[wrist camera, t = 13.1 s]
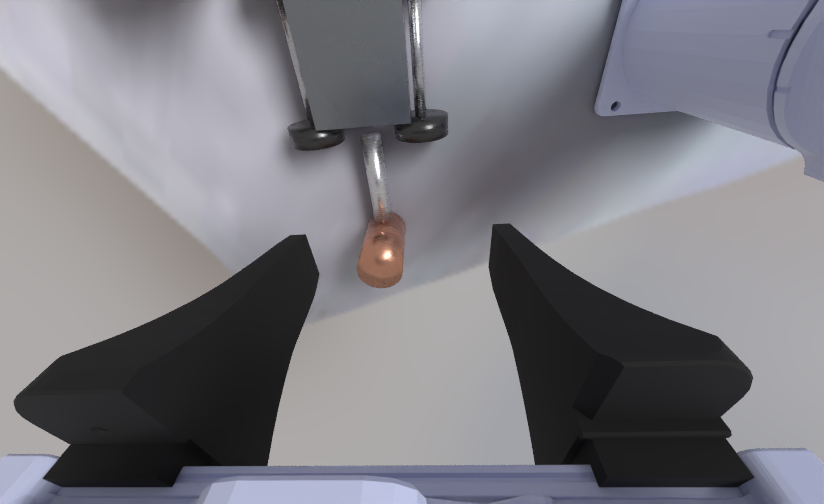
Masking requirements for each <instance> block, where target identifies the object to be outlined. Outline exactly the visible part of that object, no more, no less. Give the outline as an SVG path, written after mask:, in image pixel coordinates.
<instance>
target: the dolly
mask: <svg viewBox="0 0 824 504" xmlns="http://www.w3.org/2000/svg"><path fill="white" fill-rule="evenodd" d="M276 2H277V6H278V9H279V13H280V17H281V21H282V24H283V28H284V32H285V36H286V39H287V43H288V47H289V51H290V54H291V58H292V62H293V66H294V69H295V73H296V77H297V81H298V84H299V88H300V92H301V96H302V99H303V103H304V107H305V110H306V114H307V118H308V120H303V121H299V122H296V123H294V124H291V125H290V126H288V128H287V129H288V132H289V135H290V139H291V142H292V145H293V148H294V149H297V150H303V151H310V150H320V149H325V148H329V147H333V146H336V145H338V144H340V143H342V142H343V141H344V140H345V136H344V131H343V129H345V128H358V127H371V126H385V125H394V127H395V136H396V139H397V140H399V141H403V142H409V143H422V142H430V141H435V140H439V139H442V138H444V137H445V136H447V135H448V113H447V112H445V111H442V110H433V109H426V104H425V82H424V60H423V39H422V17H421V0H408V15H409V30H410V45H411V60H412V76H413V91H414V106H415V110H414V111H411V109H410V95H409V82H408V68H407V54H406V41H405V27H404V14H403V0H276Z"/></svg>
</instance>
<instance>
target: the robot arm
mask: <svg viewBox="0 0 824 504" xmlns="http://www.w3.org/2000/svg"><path fill="white" fill-rule="evenodd" d="M616 101H617V105H616V107H615V108H614V109H612V110H611V105H612V104H613V103H614V102H616ZM594 111H595V113H596V114H597V115H599V116H615V115H628V114H642V113H655V112H669V111H680V112H683V113H686V114H689V115H692V116H695V117H698V118H701V119H704V120H707V121H710V122H713V123H716V124H719V125H722V126H725V127H729V128H732V129H735V130H738V131H741V132H744V133H747V134H750V135H753V136H756V137H759V138H762V139H765V140H768V141H771V142H774V143H777V144H780V145H783V146H786V147H789V148H792V149H796V150H797V151H799V152H800V153H801V154H802V156H803V158H804V161H805V168H804V174H805V175H808V176H810V177H813V178H815V179H818V180H821V181H823V182H824V0H622V4H621V8H620V11H619V15H618V19H617V23H616V27H615V30H614V34H613V38H612V42H611V46H610V49H609V53H608V57H607V61H606V65H605V68H604V72H603V76H602V80H601V84H600V87H599V91H598V95H597V99H596V103H595V106H594ZM489 271H490V277H491V282H492V287H493V291H494V294H495V297H496V300H497V302H498V306H499V308H500V312H501V314H502V317H503V320H504V323H505V326H506V329H507V332H508V335H509V338H510V341H511V345H512V348H513V352H514V357H515V361H516V366H517V371H518V375H519V379H520V385H521V390H522V395H523V399H524V405H525V410H526V415H527V421H528V426H529V431H530V437H531V442H532V448H533V455H534V461H535V465H439V466H438V465H418V466H417V465H414V466H267V465H268V459H269V453H270V448H271V442H272V436H273V431H274V426H275V422H276V417H277V412H278V407H279V402H280V399H281V395H282V390H283V386H284V382H285V378H286V374H287V371H288V367H289V363H290V360H291V356H292V353H293V350H294V347H295V344H296V342H297V339H298V337H299V334H300V332H301V329H302V327H303V324H304V322H305V319H306V317H307V314H308V312H309V309H310V306H311V304H312V301H313V299H314V296H315V292H316V288H317V283H318V278H319V272H318V269H317V266H316V263H315V260H314V257H313V254H312V251H311V249H310V246H309V243H308V240H307V237H306V234H305V235H290V236H289V237H287V238H285V239H284V240H282V241H281V242H279V243H278V244H277V245H275V246H274V247H273V248H271V249H270V250H269V251H267V252H266V253H265V254H263V255H262V256H260V257H259V258H258V259H256V260H255V261H254V262H252V263H251V264H250V265H248V266H247V267H245V268H244V269H242V270H241V271H240V272H238V273H237V274H235V275H234V276H232V277H231V278H229V279H228V280H226V281H225V282H223V283H222V284H220V285H219V286H217V287H215V288H214V289H212V290H210V291H209V292H207V293H205V294H203V295H202V296H200V297H198V298H197V299H195V300H193V301H191V302H189V303H187V304H185V305H183V306H181V307H179V308H177V309H175V310H173V311H171V312H169V313H167V314H165V315H163V316H161V317H159V318H157V319H155V320H153V321H150V322H148V323H146V324H144V325H141V326H139V327H137V328H134V329H132V330H129V331H127V332H125V333H122V334H120V335H117V336H115V337H112V338H110V339H107V340H105V341H102V342H99V343H96V344H93V345H91V346H88V347H85V348H83V349H80V350H77V351H74V352H71V353H69V354H66V355H63V356H61V357H59V358H58V359H57V360H56V361H54V362H53V363H52V364H51V365H50V366H49V367H48V368H47V369H45V370H44V371H43V372H42V373H41V374H40V375H39V376H38V377H37V378H36V379H35V380H34V381H32V382H31V383H30V384H29V385H28V386H27V387H26V388H25V389H24V390H23V391H21V392H20V393H19V394H18V395H17V396H16V398H15V400H14V406H15V409H16V411H17V412H18V413H19V414H20V415H21V416H22V417H23V418H25V419H26V420H28V421H29V422H31V423H32V424H34V425H36V426H38V427H39V428H41V429H43V430H45V431H47V432H49V433H50V434H52V435H54V436H56V437H58V438H59V439H61V440H63V441H65V442H67V443H68V444H71V445H70V446H69V447H68V448H67V449H66V451H65V452H64V453H63V454H62V455H61V457H58V456H54V455H50V454H8V455H5V456H3V457H2V458H1V459H0V504H824V464H823V463H822V462H821V461H820V460H819V459H818V458H817V457H816V456H815V454H814V453H813V452H812V451H810V450H808V449H805V448H788V449H787V448H781V449H780V448H775V449H774V448H772V449H771V448H770V449H749V450H744V451H740V452H738V453H736V452H735V450H734V449H733V448H732V446H731V445H730V444H729V442H728V441H727V440H726V438H729V437H730V436H731V430H730V429H729V428H728V426H727V425H726V424H725V423H724V421H723V420H722V419H721V416H722V415H723V414H724V413H725V412H727V411H728V410H729V409H730V408H731V407H732V406H733V405H735V404H736V403H737V402H738V401H739V400H740V399H741V398H743V397H744V395H745V394H746V393H747V392H748V391H749V390H750V387H751V383H752V380H753V376H752V374H751V371H750V370H749V369H748V368H747V367H746V366H745V364H744V363H743V362H742V361H741V360H740V359H739V358H738V357H737V356H736V355H735V354H734V353H733V352H732V351H731V350H730V349H729V348H728V347H727V346H726V345H725V344H724V343H723V341H721V339H719V337H717V336H715V335H712V334H709V333H707V332H704V331H701V330H698V329H695V328H692V327H689V326H686V325H683V324H681V323H678V322H675V321H672V320H669V319H667V318H664V317H662V316H659V315H657V314H654V313H652V312H650V311H647V310H644V309H642V308H639V307H638V306H635V305H633V304H631V303H628V302H626V301H624V300H622V299H620V298H618V297H616V296H614V295H612V294H610V293H608V292H606V291H604V290H602V289H600V288H598V287H596V286H595V285H593V284H591V283H589V282H588V281H586V280H584V279H582V278H581V277H579V276H577V275H576V274H574V273H573V272H571V271H570V270H568V269H566V268H565V267H564V266H562V265H561V264H559V263H558V262H556V261H555V260H554V259H552V258H551V257H550V256H548V255H547V254H546V253H544V252H543V251H542V250H540V249H539V248H538V247H537V246H536V245H534V244H533V243H532V242H531V241H529V240H528V239H527V238H526V237H525V236H524V235H522V234H521V233H520V232H519V231H518V230H517V229H515V228H514V227H513V226H512V225H511V224H493V228H492V238H491V248H490V258H489Z"/></svg>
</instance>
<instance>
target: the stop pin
mask: <svg viewBox="0 0 824 504" xmlns="http://www.w3.org/2000/svg"><path fill="white" fill-rule="evenodd" d="M360 138H361V144H362V150H363V156H364V161H365V167H366V173H367V179H368V184H369V190H370V196H371V201H372V207H373V213H374V215H373V216H372V217H371V219H370V220H369V223H368V227H367V231H366V234H365V238H364V242H363V246H362V250H361V254H360V257H359V261H358V265H357V273H358V276H359V277H360V279H361V280H362V281H363V282H365V283H366V284H368V285H370V286H373V287H377V288H386V287H390V286H393V285H395V284H396V283H397V282H398V281H399V280H400V279H401V277H402V271H403V257H404V243H405V223H404V221H403V219H402V218H401V217H400V216H399V215H397V214H395V213H393V212H391V208H390V200H389V193H388V186H387V178H386V171H385V163H384V156H383V148H382V141H381V134H380V133H379V132H368V133H364V134H361V135H360Z"/></svg>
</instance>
